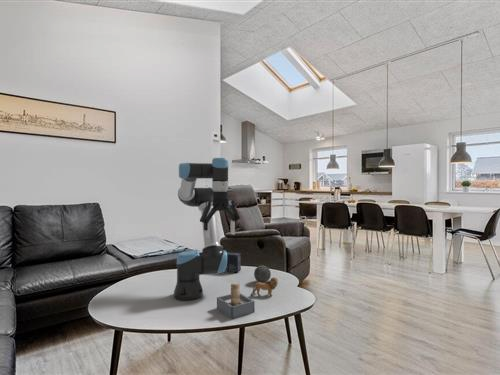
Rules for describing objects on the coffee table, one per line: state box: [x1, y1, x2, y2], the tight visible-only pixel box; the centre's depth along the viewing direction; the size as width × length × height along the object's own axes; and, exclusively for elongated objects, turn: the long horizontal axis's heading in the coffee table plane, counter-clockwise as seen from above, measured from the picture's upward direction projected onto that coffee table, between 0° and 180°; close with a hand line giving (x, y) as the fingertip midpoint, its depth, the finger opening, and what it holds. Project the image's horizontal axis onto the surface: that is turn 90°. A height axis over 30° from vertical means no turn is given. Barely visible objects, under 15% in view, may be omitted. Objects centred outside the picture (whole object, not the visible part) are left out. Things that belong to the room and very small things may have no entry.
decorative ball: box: [253, 265, 272, 283], centre depth 176 cm, size 10×10×10 cm
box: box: [216, 292, 256, 320], centre depth 137 cm, size 14×12×5 cm
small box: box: [223, 252, 242, 274], centre depth 200 cm, size 13×7×12 cm, turn 74°
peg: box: [230, 282, 241, 306], centre depth 137 cm, size 4×4×12 cm
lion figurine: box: [250, 277, 278, 297], centre depth 155 cm, size 15×5×9 cm, turn 99°
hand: (220, 235), depth 139 cm, fingers open, 13 cm apart
